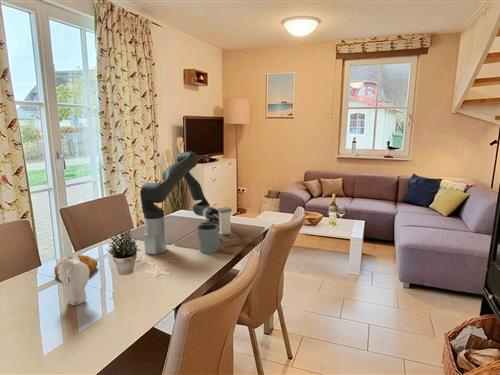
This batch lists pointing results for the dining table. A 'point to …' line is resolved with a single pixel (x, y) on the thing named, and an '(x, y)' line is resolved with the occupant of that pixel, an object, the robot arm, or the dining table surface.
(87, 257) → the croissant
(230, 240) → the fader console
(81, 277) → the shell sculpture
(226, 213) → the white tall block
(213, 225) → the teal cylindrical container
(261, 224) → the dining table surface
